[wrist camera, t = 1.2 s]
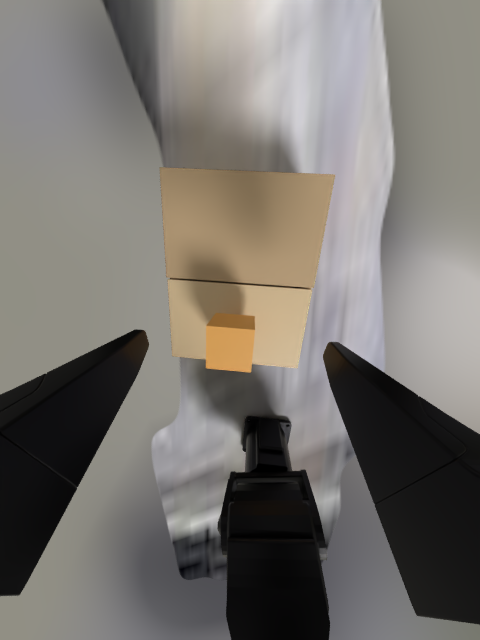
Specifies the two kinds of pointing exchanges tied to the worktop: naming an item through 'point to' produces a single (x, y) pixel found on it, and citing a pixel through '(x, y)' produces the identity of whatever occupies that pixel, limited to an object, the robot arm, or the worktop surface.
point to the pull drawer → (237, 323)
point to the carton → (244, 225)
